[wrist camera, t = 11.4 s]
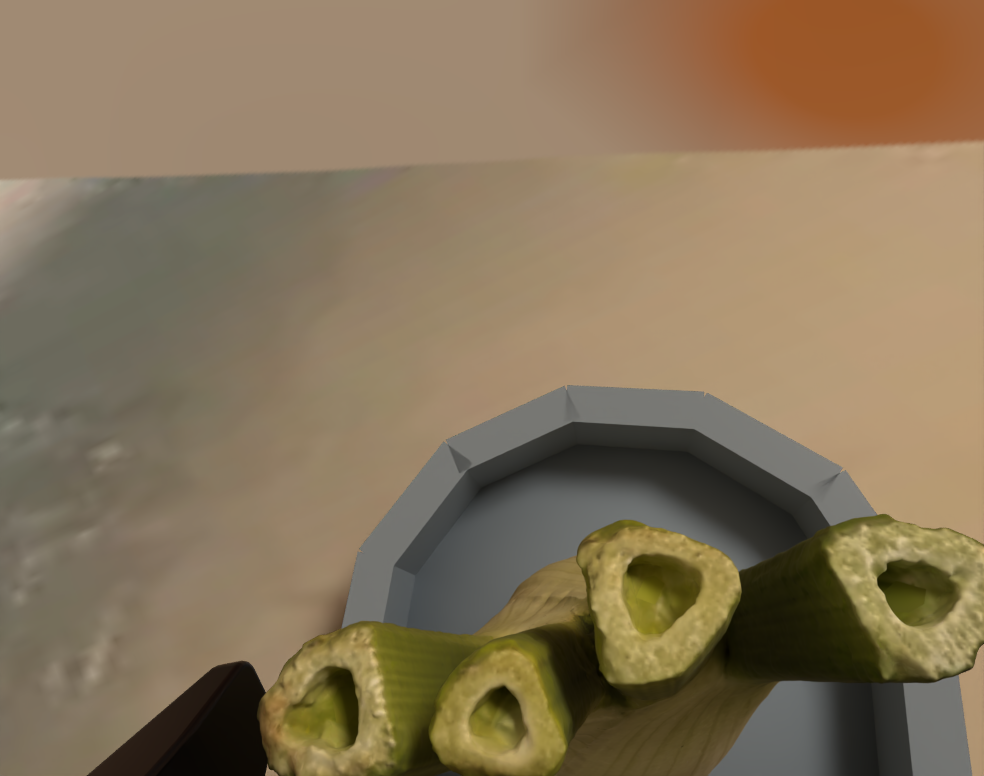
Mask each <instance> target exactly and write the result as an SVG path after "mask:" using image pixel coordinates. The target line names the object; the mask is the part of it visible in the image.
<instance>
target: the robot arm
mask: <svg viewBox="0 0 984 776" xmlns="http://www.w3.org/2000/svg"><path fill="white" fill-rule="evenodd" d="M265 693H266V692H265V690H264V688H263V686H262V684H261V682H260V680H259V678H258V675H257V673H256V671H255V669H254V668H253V666H252V665H251V664H250V663H249V662H247V661H238V662H233V663H227V664H222V665H218V666H216V667H214V668H212V669H211V670H210V671H209V672H207V673H206V674H205V675H204V676H203V677H202V678H200V679H199V680H198V681H197V682H196V683H195V684H193V685H192V686H191V687H190V688H189V689H187V690H186V691H185V692H184V693H183V694H182V695H180V696H179V697H178V698H177V699H176V700H175V701H173V702H172V703H171V704H170V705H169V706H168V707H166V708H165V709H164V710H163V711H162V712H161V713H159V714H158V715H157V716H156V717H155V718H154V719H152V720H151V721H150V722H149V723H148V724H147V725H145V726H144V727H143V728H142V729H141V730H140V731H138V732H137V733H136V734H135V735H134V736H133V737H131V738H130V739H129V740H128V741H127V742H126V743H124V744H123V745H122V746H121V747H120V748H119V749H117V750H116V751H115V752H114V753H113V754H112V755H110V756H109V757H108V758H107V759H106V760H105V761H103V762H102V763H101V764H100V765H99V766H98V767H96V768H95V769H94V770H93V771H92V772H90V773H89V774H88V775H87V776H265V773H266V768H267V763H268V757H267V755H266V752H265V749H264V748H263V744H262V736H261V731H260V722H259V720H258V719H257V711H258V707H259V702H260V700H261V698H262V697H263V696H264V695H265Z"/></svg>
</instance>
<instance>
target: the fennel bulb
mask: <svg viewBox="0 0 984 776" xmlns="http://www.w3.org/2000/svg"><path fill="white" fill-rule="evenodd" d="M983 644H984V545H983V544H982V543H980V542H978V541H977V540H975V539H973V538H970V537H968V536H966V535H963V534H961V533H958V532H956V531H954V530H951V529H949V528H938V529H931V528H921V527H919V526H917V525H915V524H910V523H904V522H900V521H896V520H894V519H893V518H892V517H890V516H889V515H887V514H880V515H876V516H868V517H860V518H852V519H850V520H847V521H844V522H841V523H838V524H836V525H833V526H828V527H826V528H825V529H821V530H818V531H817V532H816V533H815V535H814V536H813V537H812V538H809V539H807V540H805V541H802V542H801V543H799V544H797V545H795V546H793V547H792V548H790V549H789V550H787V551H785V552H781V553H778V554H777V555H775V556H774V557H772V558H769V559H767V560H764V561H762V562H760V563H758V564H756V565H755V566H751V567H749V568H747V569H742V570H740V571H739V572H738V569H737V568H736V566H735V565H734V563H733V561H732V560H731V558H730V557H729V556H727V555H726V554H725V553H723V552H722V551H720V550H719V549H717V548H714V547H712V546H709V545H707V544H705V543H702V542H699V541H696V540H694V539H691V538H689V537H687V536H685V535H683V534H680V533H677V532H672V531H668V530H666V529H663V528H655V527H650V526H647V525H646V524H644V523H641V522H638V521H635V520H619V521H616V522H614V523H612V524H609V525H607V526H605V527H603V528H600V529H598V530H596V531H594V532H592V533H590V534H589V535H588V536H586V537H585V538H584V539H583V540H582V541H581V543H580V544H579V546H578V549H577V555H576V556H573V557H570V558H568V559H565V560H561V561H558V562H555V563H552V564H549V565H547V566H545V567H544V568H542V569H540V570H538V571H537V572H536V573H534V574H533V575H531V576H530V577H529V578H527V579H526V580H525V581H523V582H522V583H521V584H520V585H519V586H518V587H517V589H516V590H515V592H514V593H513V595H512V596H511V598H510V600H509V601H508V603H507V604H506V605H505V607H504V608H503V609H502V610H501V611H500V612H499V613H498V614H497V615H495V616H494V617H492V618H491V619H490V620H489V622H488V623H487V624H485V625H484V626H483V627H482V628H481V629H480V630H478V631H477V632H476V633H474V634H472V635H469V634H461V635H458V634H452V633H443V632H441V631H436V632H435V631H430V630H420V629H416V628H407V627H401V626H398V625H396V624H393V623H381V622H378V621H359V622H357V623H354V624H350V625H348V626H347V627H344V628H342V629H338V630H336V631H334V632H332V633H329V634H326V635H319V636H317V637H315V638H313V639H311V640H310V641H308V642H306V643H304V644H303V647H302V648H301V649H300V650H299V651H298V652H297V653H296V654H295V655H294V656H293V657H291V658H290V659H289V660H288V661H287V662H286V663H285V665H284V667H283V669H282V671H281V673H280V675H279V678H278V680H277V682H276V683H275V684H274V685H273V686H272V687H271V688H270V689H269V690H268V691H267V692H266V693H265V695H264V696H263V697H262V698H261V700H260V702H259V707H258V711H257V719H258V720H259V722H260V731H261V736H262V744H263V748H264V749H265V752H266V755H267V757H268V767H269V769H270V770H274V771H275V772H276V773H277V774H278V775H279V776H436V775H440V774H442V773H445V772H449V771H452V772H454V773H458V774H460V775H461V776H708V775H709V774H710V773H711V771H712V770H713V769H714V768H715V767H716V766H717V765H718V764H719V763H720V761H722V759H723V758H724V757H725V756H726V755H727V753H728V752H729V750H730V749H731V748H732V747H733V745H734V744H735V742H736V740H737V738H738V737H739V735H740V734H741V732H742V731H743V729H744V727H745V725H746V724H747V722H748V721H749V719H750V718H751V716H752V715H753V713H754V712H755V711H756V709H757V708H758V706H759V705H760V704H761V703H762V702H763V701H764V700H765V699H766V698H767V697H768V695H769V694H770V692H771V691H772V689H773V688H774V687H775V686H776V685H777V684H778V683H779V682H780V681H811V682H840V683H880V684H883V683H935V682H937V681H940V680H942V679H946V678H950V677H954V676H957V675H959V674H961V673H963V672H966V671H968V670H970V669H972V668H973V666H974V664H975V659H976V655H977V652H978V650H979V648H980V647H981V646H982V645H983Z"/></svg>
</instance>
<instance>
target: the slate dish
mask: <svg viewBox="0 0 984 776" xmlns="http://www.w3.org/2000/svg"><path fill="white" fill-rule="evenodd" d="M446 441H447V443H448V444H446V443H445V442H443V443H442V444H441V446H440V447H439V448H438V449H437V451H436V452H435V453H434V454H433V456H432V457H431V458H430V460H429V461H428V462H427V463H426V465H425V466H424V467H423V468H422V470H421V471H420V472H419V474H418V475H417V476H416V477H415V479H414V480H413V481H412V482H411V484H410V485H409V486H408V487H407V489H406V490H405V491H404V493H403V494H402V495H401V496H400V498H399V499H398V500H397V501H396V503H395V504H394V505H393V507H392V508H391V509H390V510H389V512H388V513H387V514H386V515H385V517H384V518H383V519H382V520H381V522H380V523H379V524H378V526H377V527H376V528H375V529H374V531H373V532H372V533H371V534H370V536H369V537H368V538H367V540H366V541H365V542H364V543H363V545H362V546H361V547H360V548H359V549H360V550H361V551H362V552H358V553H357V558H356V562H355V567H354V572H353V577H352V581H351V586H350V591H349V595H348V600H347V605H346V610H345V614H344V619H343V624H342V628H344V627H347V626H348V625H350V624H354V623H357V622H359V621H378V622H381V623H393V624H396V625H398V626H401V627H407V628H416V629H420V630H430V631H435V632H436V631H441V632H443V633H452V634H458V635H461V634H469V635H472V634H474V633H476V632H477V631H478V630H480V629H481V628H482V627H483V626H484V625H485V624H487V623H488V622H489V620H490V619H491V618H492V617H494V616H495V615H497V614H498V613H499V612H500V611H501V610H502V609H503V608H504V607H505V605H506V604H507V603H508V601H509V600H510V598H511V596H512V595H513V593H514V592H515V590H516V589H517V587H518V586H519V585H520V584H521V583H522V582H523V581H525V580H526V579H527V578H529V577H530V576H531V575H533V574H534V573H536V572H537V571H538V570H540V569H542V568H544V567H545V566H547V565H549V564H552V563H555V562H558V561H561V560H565V559H568V558H570V557H573V556H576V555H577V549H578V546H579V544H580V543H581V541H582V540H583V539H584V538H585V537H586V536H588V535H589V534H590V533H592V532H594V531H596V530H598V529H600V528H603V527H605V526H607V525H609V524H612V523H614V522H616V521H619V520H635V521H638V522H641V523H644V524H646V525H647V526H650V527H655V528H663V529H666V530H668V531H672V532H677V533H680V534H683V535H685V536H687V537H689V538H691V539H694V540H696V541H699V542H702V543H705V544H707V545H709V546H712V547H714V548H717V549H719V550H720V551H722V552H723V553H725V554H726V555H727V556H729V557H730V558H731V560H732V561H733V563H734V565H735V566H736V568H737V569H738V572H739V571H740V570H742V569H747V568H749V567H751V566H755V565H756V564H758V563H760V562H762V561H764V560H767V559H769V558H772V557H774V556H775V555H777V554H778V553H781V552H785V551H787V550H789V549H790V548H792V547H793V546H795V545H797V544H799V543H801V542H802V541H805V540H807V539H809V538H812V537H813V536H814V535H815V533H816V532H817V531H818V530H821V529H825V528H826V527H828V526H833V525H836V524H838V523H841V522H844V521H847V520H850V519H852V518H860V517H868V516H876V515H877V514H876V512H875V511H874V510H873V508H872V507H871V505H870V504H869V503H868V501H867V500H866V498H865V497H864V495H863V494H862V493H861V491H860V490H859V488H858V487H857V486H856V484H855V483H854V481H853V480H852V479H851V477H850V476H849V474H848V473H847V472H846V470H845V471H843V472H841V473H840V471H841V470H842V467H841V466H839V465H837V464H835V463H833V462H832V461H830V460H828V459H826V458H824V457H823V456H821V455H819V454H817V453H815V452H813V451H812V450H810V449H808V448H806V447H804V446H803V445H801V444H799V443H797V442H795V441H794V440H792V439H790V438H788V437H786V436H785V435H783V434H781V433H779V432H777V431H776V430H774V429H772V428H770V427H768V426H767V425H765V424H763V423H761V422H759V421H757V420H756V419H754V418H752V417H750V416H748V415H747V414H745V413H743V412H741V411H739V410H738V409H736V408H734V407H732V406H730V405H729V404H727V403H725V402H723V401H721V400H720V399H718V398H716V397H714V396H712V395H710V394H709V393H707V394H706V395H705V397H704V392H699V391H678V390H657V389H636V388H615V387H594V386H573V385H567V390H566V388H565V386H563V387H561V388H558V389H556V390H554V391H552V392H550V393H547V394H545V395H543V396H541V397H539V398H537V399H534V400H532V401H530V402H528V403H526V404H523V405H521V406H519V407H517V408H515V409H512V410H510V411H508V412H506V413H504V414H501V415H499V416H497V417H495V418H493V419H490V420H488V421H486V422H484V423H482V424H479V425H477V426H475V427H473V428H471V429H469V430H466V431H464V432H462V433H460V434H458V435H455V436H453V437H451V438H449V439H447V440H446ZM342 628H341V629H342ZM436 776H461V775H460V774H458V773H454V772H452V771H449V772H445V773H442V774H440V775H436ZM708 776H972V770H971V763H970V756H969V748H968V741H967V734H966V727H965V719H964V712H963V705H962V697H961V690H960V683H959V676H958V675H957V676H954V677H950V678H946V679H942V680H940V681H937V682H935V683H883V684H880V683H840V682H811V681H780V682H779V683H778V684H777V685H776V686H775V687H774V688H773V689H772V691H771V692H770V694H769V695H768V697H767V698H766V699H765V700H764V701H763V702H762V703H761V704H760V705H759V706H758V708H757V709H756V711H755V712H754V713H753V715H752V716H751V718H750V719H749V721H748V722H747V724H746V725H745V727H744V729H743V731H742V732H741V734H740V735H739V737H738V738H737V740H736V742H735V744H734V745H733V747H732V748H731V749H730V750H729V752H728V753H727V755H726V756H725V757H724V758H723V759H722V761H720V763H719V764H718V765H717V766H716V767H715V768H714V769H713V770H712V771H711V773H710V774H709V775H708Z"/></svg>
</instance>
